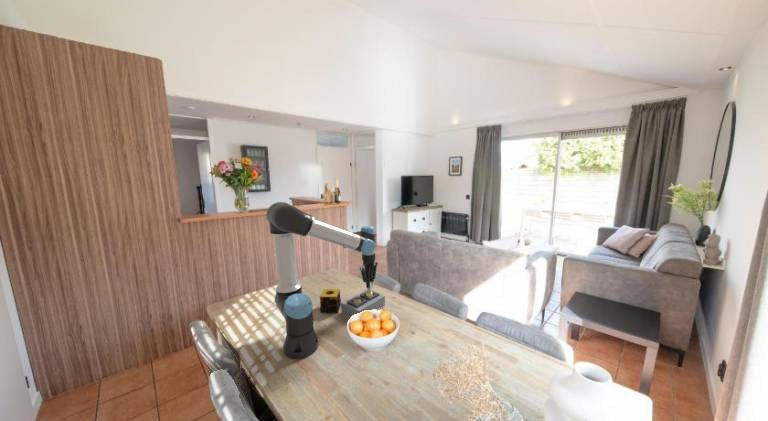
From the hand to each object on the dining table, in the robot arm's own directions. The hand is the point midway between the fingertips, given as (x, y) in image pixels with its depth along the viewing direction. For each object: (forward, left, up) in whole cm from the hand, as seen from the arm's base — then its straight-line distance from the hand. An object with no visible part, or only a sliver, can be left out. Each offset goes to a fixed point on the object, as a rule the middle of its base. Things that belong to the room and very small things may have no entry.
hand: (369, 292), depth 158 cm
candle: (-17, +15, -9) cm, 24 cm away
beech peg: (-10, 0, -8) cm, 13 cm away
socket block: (-5, 0, -8) cm, 10 cm away
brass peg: (0, 0, -8) cm, 8 cm away
